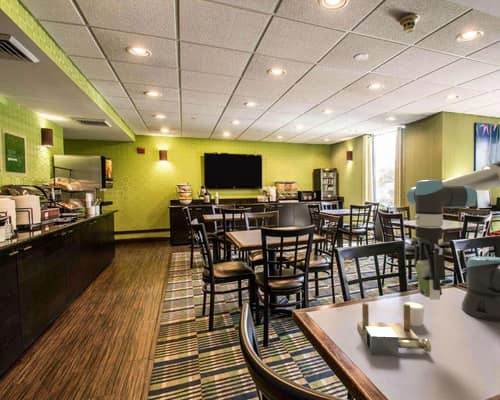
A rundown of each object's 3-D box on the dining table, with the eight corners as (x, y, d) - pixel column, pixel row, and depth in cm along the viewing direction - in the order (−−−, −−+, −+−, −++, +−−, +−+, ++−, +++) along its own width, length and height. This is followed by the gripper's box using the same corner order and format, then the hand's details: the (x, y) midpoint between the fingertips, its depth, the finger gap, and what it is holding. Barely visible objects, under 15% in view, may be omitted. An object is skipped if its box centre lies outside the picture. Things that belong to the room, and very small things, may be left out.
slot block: (390, 345, 87) (390, 327, 87) (398, 356, 81) (398, 337, 81) (365, 344, 88) (365, 326, 88) (371, 355, 82) (371, 336, 82)
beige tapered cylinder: (423, 320, 103) (422, 302, 103) (426, 328, 97) (426, 309, 97) (403, 317, 106) (402, 300, 106) (405, 325, 100) (404, 306, 100)
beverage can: (445, 300, 84) (446, 263, 84) (420, 299, 86) (420, 262, 85) (435, 293, 90) (436, 258, 90) (412, 291, 92) (412, 258, 91)
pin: (424, 347, 85) (424, 336, 85) (431, 354, 81) (431, 343, 81) (390, 346, 86) (390, 335, 86) (395, 352, 83) (395, 341, 82)
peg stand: (405, 328, 98) (404, 299, 97) (418, 344, 88) (418, 311, 87) (357, 326, 100) (357, 298, 99) (365, 341, 90) (365, 310, 89)
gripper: (403, 223, 97) (403, 284, 98) (433, 230, 78) (433, 307, 79) (424, 222, 97) (424, 284, 97) (460, 230, 77) (460, 307, 78)
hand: (428, 294), depth 88 cm, fingers closed on beverage can, 6 cm apart
